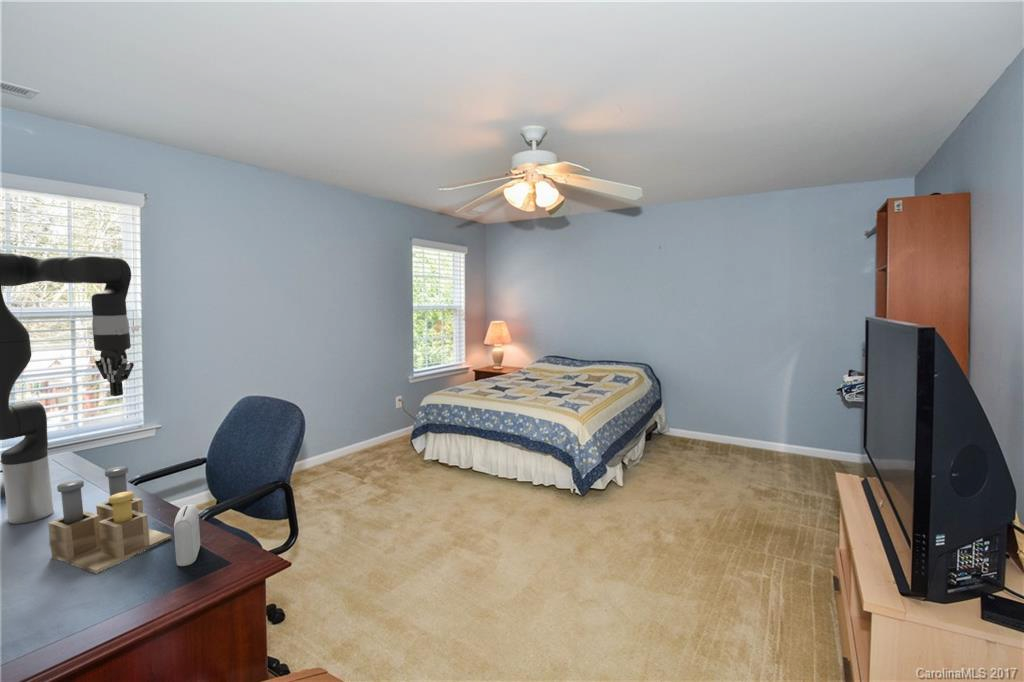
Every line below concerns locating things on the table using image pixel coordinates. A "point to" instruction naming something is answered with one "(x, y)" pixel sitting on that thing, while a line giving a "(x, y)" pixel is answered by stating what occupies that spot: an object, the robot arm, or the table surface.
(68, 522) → the grey plug
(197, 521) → the photo printer
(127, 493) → the ochre plug
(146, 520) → the board
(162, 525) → the table surface
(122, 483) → the grey plug
